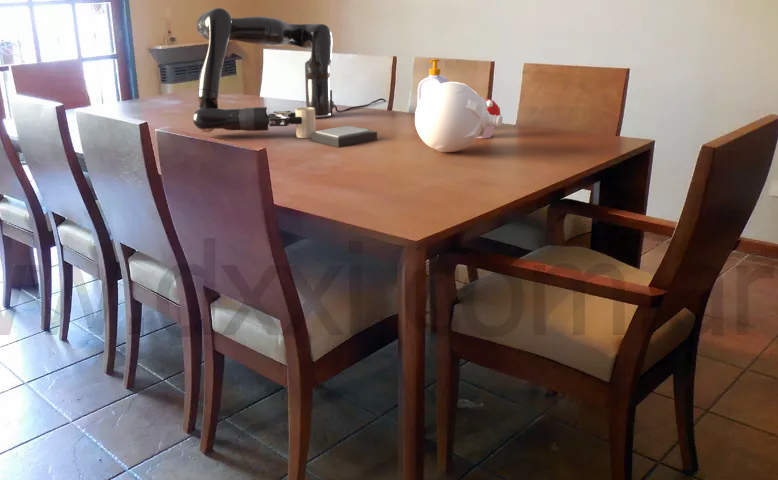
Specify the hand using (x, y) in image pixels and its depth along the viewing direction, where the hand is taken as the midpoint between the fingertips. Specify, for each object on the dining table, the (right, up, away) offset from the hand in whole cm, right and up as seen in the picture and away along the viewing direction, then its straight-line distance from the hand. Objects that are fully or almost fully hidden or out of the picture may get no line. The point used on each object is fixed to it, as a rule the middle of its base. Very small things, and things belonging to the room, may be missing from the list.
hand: (302, 118), depth 225 cm
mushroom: (+58, -8, -6) cm, 59 cm away
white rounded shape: (+45, -17, -26) cm, 55 cm away
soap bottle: (+44, -3, +5) cm, 44 cm away
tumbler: (+1, -6, +2) cm, 6 cm away
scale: (+14, -9, -5) cm, 17 cm away
